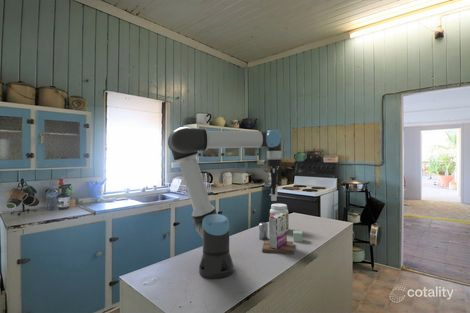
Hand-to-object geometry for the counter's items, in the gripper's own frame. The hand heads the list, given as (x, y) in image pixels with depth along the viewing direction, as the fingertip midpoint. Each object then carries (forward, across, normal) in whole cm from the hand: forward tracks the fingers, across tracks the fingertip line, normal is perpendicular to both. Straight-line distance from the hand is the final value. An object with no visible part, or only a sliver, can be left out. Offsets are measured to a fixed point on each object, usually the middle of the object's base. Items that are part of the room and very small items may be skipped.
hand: (274, 198), depth 137 cm
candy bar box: (+25, 0, -2) cm, 25 cm away
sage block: (+27, +14, -13) cm, 33 cm away
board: (+27, 0, -2) cm, 27 cm away
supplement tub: (+27, +32, -2) cm, 42 cm away
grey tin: (+27, +14, +7) cm, 31 cm away
